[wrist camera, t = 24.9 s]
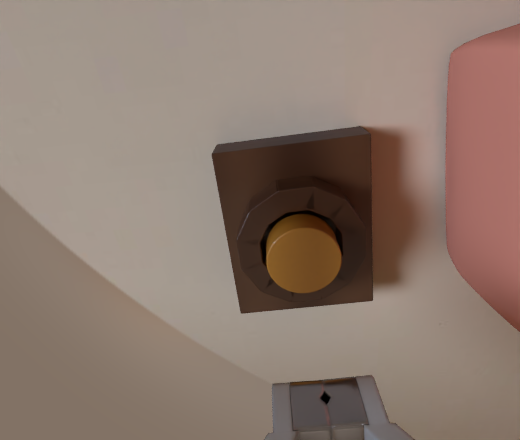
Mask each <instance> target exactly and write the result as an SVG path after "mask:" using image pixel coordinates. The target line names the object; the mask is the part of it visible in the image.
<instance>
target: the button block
mask: <svg viewBox="0 0 520 440" xmlns="http://www.w3.org/2000/svg"><path fill="white" fill-rule="evenodd" d="M212 159H213V165H214V170H215V175H216V181H217V186H218V192H219V197H220V203H221V208H222V213H223V219H224V224H225V230H226V235H227V241H228V246H229V251H230V257H231V262H232V268H233V273H234V279H235V284H236V289H237V295H238V300H239V306H240V311H241V313H252V312H262V311H273V310H283V309H293V308H304V307H314V306H324V305H335V304H345V303H355V302H365V301H373V271H372V196H371V134H370V133H368V132H367V131H366V130H364V129H363V128H362V127H360V126H359V127H352V128H344V129H336V130H328V131H320V132H312V133H305V134H297V135H289V136H281V137H273V138H265V139H258V140H250V141H242V142H234V143H226V144H219V145H217V146H216V147H215V149H214V151H213V153H212ZM296 214H309V215H313V216H316V217H319V218H321V219H322V220H324V221H325V222H326V223H327V224H328V225H329V226H330V227H331V228H332V230H333V232H334V234H335V237H336V239H337V242H338V245H339V247H340V250H341V254H342V263H341V268H340V270H339V272H338V274H337V276H336V277H335V279H334V280H333V281H332V282H331V283H330V284H329V285H327V286H326V287H324V288H322V289H320V290H318V291H315V292H311V293H295V292H291V291H288V290H286V289H284V288H282V287H280V286H279V285H278V284H277V283H276V282H275V281H274V280H273V279H272V278H271V276H270V274H269V272H268V270H267V265H266V243H267V238H268V235H269V233H270V231H271V230H272V228H273V227H274V226H275V225H276V224H277V223H278V222H279V221H281V220H282V219H284V218H286V217H289V216H292V215H296Z"/></svg>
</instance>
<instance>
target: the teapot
mask: <svg viewBox="0 0 520 440" xmlns="http://www.w3.org/2000/svg"><path fill="white" fill-rule="evenodd" d="M446 236H447V248H448V252H449V255H450V257H451V259H452V261H453V263H454V265H455V267H456V269H457V270H458V272H459V273H460V275H461V276H462V277H463V278H464V279H465V280H466V281H467V283H468V284H469V285H470V286H471V287H472V288H473V289H474V290H475V291H476V292H477V293H478V294H479V295H480V296H481V297H482V298H483V299H484V300H485V301H486V302H487V303H488V304H489V305H490V306H491V307H492V308H493V309H495V310H496V311H497V312H498V313H499V314H500V315H501V316H502V317H503V318H504V319H506V320H507V321H508V322H509V323H510V324H511V325H512V326H513V327H514V328H516V329H517V330H518V331H519V332H520V24H517V25H514V26H511V27H508V28H505V29H502V30H499V31H495V32H492V33H489V34H486V35H483V36H481V37H478V38H476V39H474V40H471V41H469V42H467V43H464V44H463V45H461V46H460V47H458V48H457V49H455V50H454V51H453V52H452V53H451V57H450V63H449V74H448V91H447V122H446Z"/></svg>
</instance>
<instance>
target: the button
mask: <svg viewBox="0 0 520 440" xmlns="http://www.w3.org/2000/svg"><path fill="white" fill-rule="evenodd" d="M341 263H342V254H341V250H340V247H339V245H338V242H337V239H336V237H335V234H334V232H333V230H332V228H331V227H330V226H329V225H328V224H327V223H326V222H325V221H324V220H322V219H321V218H319V217H316V216H313V215H309V214H296V215H292V216H289V217H286V218H284V219H282V220H281V221H279V222H278V223H277V224H276V225H275V226H274V227H273V228H272V230H271V231H270V233H269V235H268V238H267V243H266V265H267V270H268V272H269V274H270V276H271V278H272V279H273V280H274V281H275V282H276V283H277V284H278V285H279V286H280V287H282V288H284V289H286V290H288V291H291V292H295V293H311V292H315V291H318V290H320V289H322V288H324V287H326V286H327V285H329V284H330V283H331V282H332V281H333V280H334V279H335V277H336V276H337V274H338V272H339V270H340V268H341Z"/></svg>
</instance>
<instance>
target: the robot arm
mask: <svg viewBox="0 0 520 440" xmlns="http://www.w3.org/2000/svg"><path fill="white" fill-rule="evenodd" d="M289 383H290V385H289ZM289 383H275V384H273V385H272V405H273V407H272V408H273V433H268V435H267V436H266V438H265V439H264V440H414V439H413V438H412V437H411V436H410V435H409V434H407V433H406V432H405V431H404V430H403V429H402V428H400V427H399V426H398V425H397V424H396V423H390V422H389V419H388V416H387V413H386V411H385V408H384V405H383V402H382V399H381V396H380V394H379V391H378V388H377V385H376V382H375V379H374V377H373V376H372V375H368V376H357V377H346V378H336V379H326V380H319V381H302V382H289Z"/></svg>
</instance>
